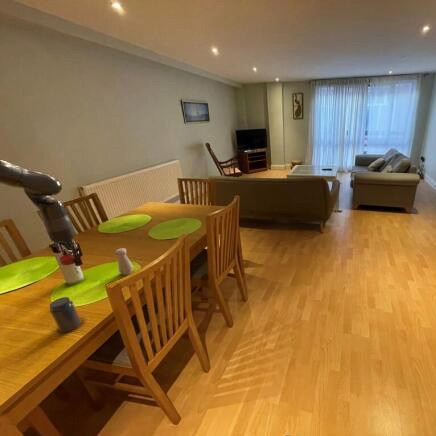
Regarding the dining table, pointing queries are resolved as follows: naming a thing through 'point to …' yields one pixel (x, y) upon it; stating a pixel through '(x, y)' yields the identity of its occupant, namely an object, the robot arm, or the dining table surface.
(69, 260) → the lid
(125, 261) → the salt shaker
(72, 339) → the dining table surface
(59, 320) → the jar
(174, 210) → the dining table surface
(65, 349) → the dining table surface
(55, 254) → the travel mug
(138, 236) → the dining table surface
